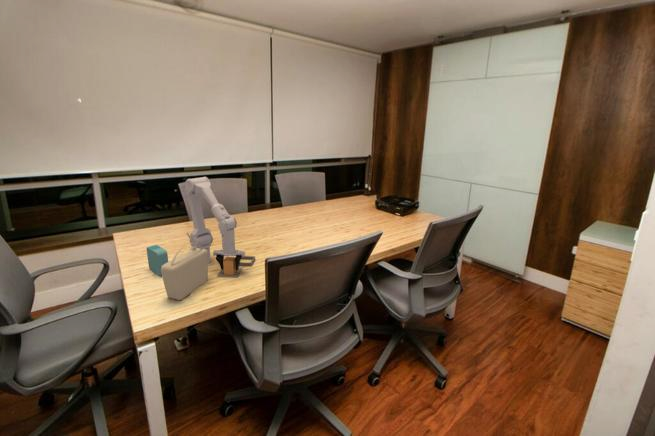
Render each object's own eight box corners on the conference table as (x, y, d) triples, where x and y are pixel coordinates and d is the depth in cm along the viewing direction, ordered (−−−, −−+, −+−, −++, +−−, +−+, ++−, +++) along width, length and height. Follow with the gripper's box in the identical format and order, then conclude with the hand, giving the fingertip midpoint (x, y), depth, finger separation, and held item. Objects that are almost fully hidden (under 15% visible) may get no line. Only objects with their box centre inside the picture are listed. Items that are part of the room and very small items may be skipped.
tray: (234, 267, 162) (233, 262, 161) (238, 260, 171) (238, 255, 170) (251, 267, 162) (251, 263, 162) (255, 260, 171) (255, 256, 170)
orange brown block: (224, 274, 152) (223, 260, 150) (226, 270, 157) (226, 257, 155) (233, 274, 152) (232, 261, 151) (236, 270, 157) (235, 257, 155)
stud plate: (216, 278, 150) (215, 269, 149) (223, 269, 160) (222, 261, 158) (237, 279, 150) (237, 270, 149) (243, 269, 160) (243, 261, 158)
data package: (170, 274, 153) (167, 250, 150) (160, 277, 150) (157, 253, 146) (158, 266, 160) (155, 243, 157) (149, 269, 157) (145, 246, 153)
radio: (196, 277, 151) (191, 226, 144) (211, 280, 149) (207, 228, 142) (160, 300, 131) (152, 242, 124) (177, 304, 128) (170, 245, 121)
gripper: (209, 245, 147) (211, 272, 150) (241, 246, 147) (243, 273, 150) (215, 239, 153) (216, 266, 157) (245, 241, 153) (246, 267, 157)
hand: (230, 269), depth 154 cm, fingers open, 6 cm apart
